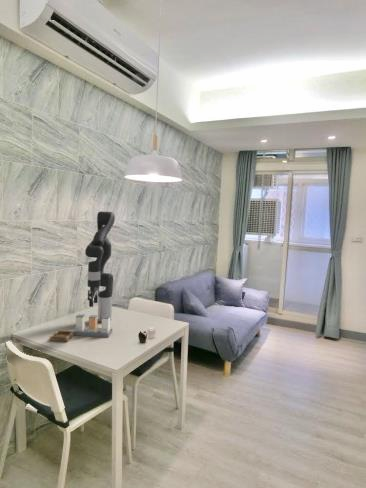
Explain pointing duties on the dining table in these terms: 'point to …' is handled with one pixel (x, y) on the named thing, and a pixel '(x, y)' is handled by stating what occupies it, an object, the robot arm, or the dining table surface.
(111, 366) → the dining table surface
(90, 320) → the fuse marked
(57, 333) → the tray
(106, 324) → the fuse block
